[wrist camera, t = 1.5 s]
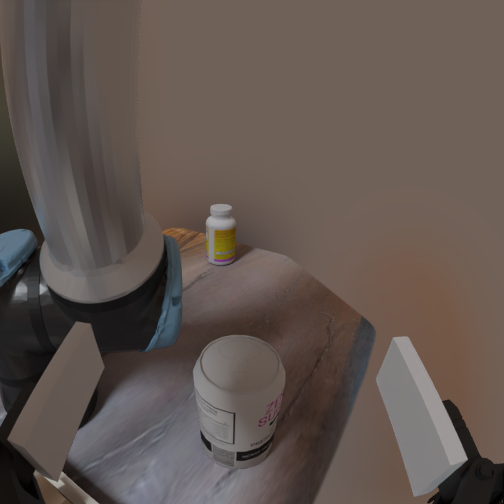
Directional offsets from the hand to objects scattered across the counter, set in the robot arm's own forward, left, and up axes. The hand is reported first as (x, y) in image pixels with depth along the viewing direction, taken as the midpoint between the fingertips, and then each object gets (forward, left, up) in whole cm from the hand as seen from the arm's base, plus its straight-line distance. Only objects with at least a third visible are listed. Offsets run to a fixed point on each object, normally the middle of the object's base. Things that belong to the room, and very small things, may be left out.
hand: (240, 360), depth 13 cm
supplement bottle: (-51, +23, -25) cm, 62 cm away
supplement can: (-8, +5, -25) cm, 27 cm away
